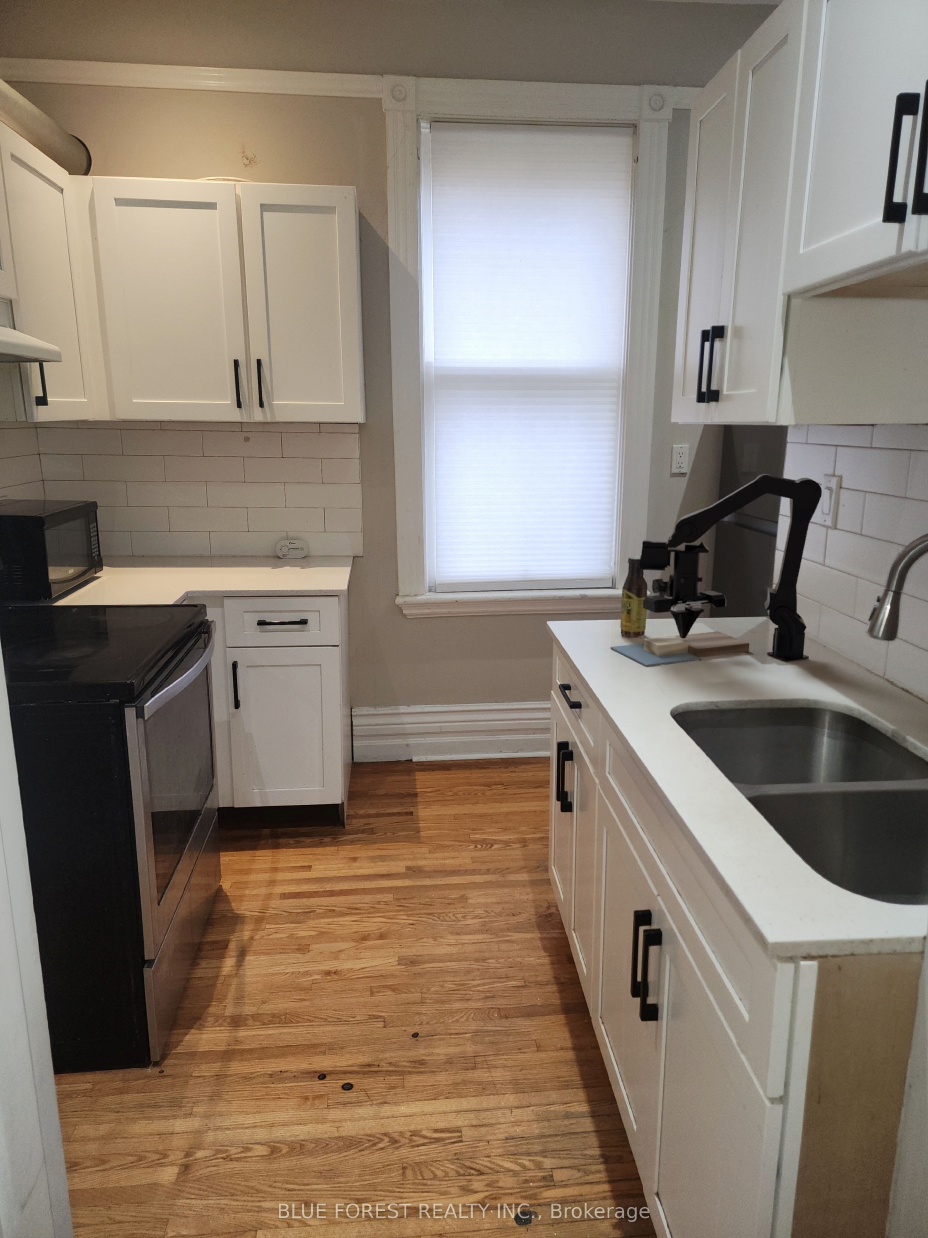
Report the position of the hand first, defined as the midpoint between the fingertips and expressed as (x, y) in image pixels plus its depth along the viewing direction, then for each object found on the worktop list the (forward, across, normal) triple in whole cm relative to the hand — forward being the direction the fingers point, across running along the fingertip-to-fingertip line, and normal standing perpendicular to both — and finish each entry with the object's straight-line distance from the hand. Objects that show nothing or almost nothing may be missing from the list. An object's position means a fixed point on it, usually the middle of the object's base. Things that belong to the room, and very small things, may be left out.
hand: (682, 637), depth 188 cm
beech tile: (+2, +4, 0) cm, 5 cm away
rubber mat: (+3, +7, 0) cm, 8 cm away
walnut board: (+3, -7, 0) cm, 7 cm away
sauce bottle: (+3, +3, -17) cm, 18 cm away
